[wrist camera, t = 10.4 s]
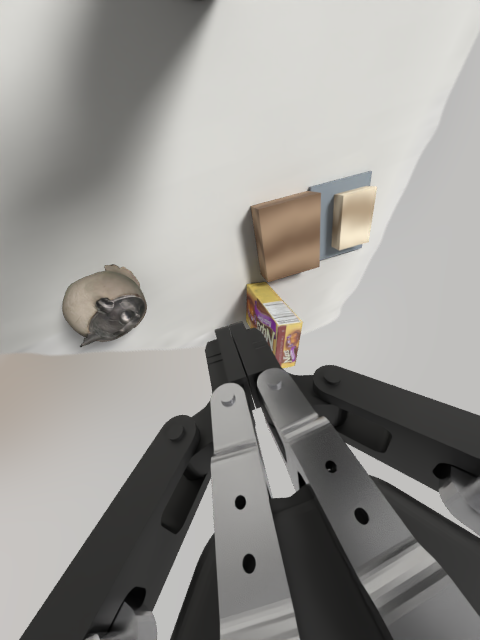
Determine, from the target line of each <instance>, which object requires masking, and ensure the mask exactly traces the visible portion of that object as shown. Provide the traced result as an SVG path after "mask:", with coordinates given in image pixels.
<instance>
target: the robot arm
mask: <svg viewBox="0 0 480 640" xmlns="http://www.w3.org/2000/svg"><path fill="white" fill-rule="evenodd" d="M229 328H230V330H229ZM230 331H231V333H230ZM215 333H216V337H217V339H216V340H213V341H210V342H208V343H207V346H206V349H205V353H206V358H207V364H208V369H209V375H210V381H211V386H212V396H211V399H210V401H209V403H208V404H207V406H206V407H205V408H204V409H202V410H201V411H200V412H198V413H197V414H195V415H194V416H193V417H189V416H187V415H179V416H176V417H174V418H172V419H170V420H169V421H168V422H166V424H165V425H164V426H163V427H162V429H161V430H160V432H159V433H158V435H157V436H156V437H155V439H154V441H153V442H152V443H151V445H150V446H149V448H148V449H147V451H146V453H145V454H144V455H143V457H142V459H141V460H140V461H139V463H138V464H137V466H136V467H135V469H134V470H133V472H132V473H131V475H130V476H129V478H128V479H127V481H126V482H125V483H124V485H123V487H122V488H121V489H120V491H119V492H118V494H117V495H116V497H115V498H114V500H113V501H112V503H111V504H110V506H109V507H108V509H107V510H106V512H105V513H104V515H103V516H102V518H101V519H100V521H99V522H98V524H97V525H96V527H95V528H94V530H93V531H92V532H91V534H90V536H89V537H88V538H87V540H86V541H85V543H84V544H83V546H82V547H81V549H80V550H79V552H78V553H77V555H76V556H75V558H74V559H73V561H72V562H71V564H70V565H69V567H68V568H67V570H66V571H65V573H64V574H63V576H62V577H61V579H60V580H59V581H58V583H57V585H56V586H55V587H54V589H53V591H52V592H51V593H50V595H49V596H48V598H47V599H46V601H45V602H44V604H43V605H42V607H41V609H40V610H39V611H38V613H37V614H36V616H35V617H34V619H33V620H32V622H31V623H30V624H29V626H28V628H27V629H26V630H25V632H24V634H23V635H22V636H21V638H20V639H19V640H157V627H156V621H155V618H154V615H153V614H152V611H153V608H154V606H155V604H156V602H157V599H158V597H159V595H160V593H161V590H162V588H163V586H164V583H165V581H166V579H167V577H168V574H169V572H170V570H171V567H172V565H173V563H174V561H175V558H176V556H177V553H178V552H179V549H180V547H181V545H182V542H183V540H184V538H185V536H186V533H187V531H188V529H189V526H190V524H191V522H192V520H193V517H194V515H195V512H196V510H197V508H198V506H199V504H200V501H201V499H202V497H203V495H204V492H205V490H206V488H207V485H208V483H209V481H210V479H211V481H212V498H213V515H214V531H215V533H214V534H213V535H212V537H211V538H210V540H209V541H208V543H207V545H206V546H205V548H204V550H203V552H202V554H201V556H200V558H199V561H198V563H197V566H196V568H195V572H194V574H193V577H192V580H191V582H190V585H189V588H188V591H187V594H186V597H185V600H184V602H183V605H182V608H181V611H180V613H179V616H178V619H177V622H176V625H175V627H174V630H173V633H172V636H171V639H170V640H480V538H478V537H477V536H475V535H473V534H472V533H470V532H469V531H467V530H465V529H464V528H462V527H460V526H459V525H457V524H455V523H454V522H452V521H450V520H449V519H447V518H445V517H444V516H442V515H441V514H439V513H437V512H436V511H434V510H432V509H431V508H429V507H427V506H426V505H424V504H422V503H421V502H419V501H417V500H416V499H414V498H412V497H411V496H409V495H408V494H406V493H404V492H403V491H401V490H399V489H398V488H396V487H394V486H393V485H391V484H389V483H387V482H385V481H383V480H381V479H379V478H376V477H373V476H371V475H368V474H367V472H366V471H365V469H364V468H363V467H362V465H361V464H360V463H359V461H358V460H357V459H356V457H355V456H354V454H353V453H352V452H351V450H350V449H349V448H348V446H347V445H346V443H347V444H349V445H351V446H353V447H355V448H357V449H358V450H360V451H362V452H364V453H366V454H368V455H370V456H372V457H374V458H375V459H377V460H379V461H381V462H383V463H385V464H387V465H389V466H390V467H392V468H394V469H396V470H398V471H400V472H402V473H404V474H406V475H407V476H409V477H411V478H413V479H415V480H417V481H419V482H421V483H422V484H425V485H426V486H428V487H430V488H432V489H434V490H436V491H437V492H439V494H440V496H441V499H442V501H443V503H444V504H445V506H446V507H447V509H448V510H449V511H450V513H451V514H452V515H453V516H454V517H455V518H457V519H458V520H459V521H460V522H461V523H463V524H464V525H466V526H467V527H469V528H470V529H472V530H473V531H474V532H475V533H477V534H478V535H479V536H480V416H479V415H476V414H473V413H470V412H468V411H465V410H462V409H459V408H456V407H453V406H450V405H447V404H445V403H442V402H439V401H436V400H433V399H430V398H427V397H425V396H422V395H419V394H416V393H413V392H410V391H407V390H404V389H401V388H398V387H396V386H393V385H390V384H387V383H384V382H381V381H378V380H376V379H373V378H370V377H367V376H364V375H361V374H358V373H356V372H353V371H350V370H347V369H344V368H341V367H338V366H334V365H326V366H322V367H320V368H319V369H317V370H316V371H315V373H314V375H303V376H298V375H293V374H290V373H288V372H286V371H285V370H283V369H282V367H281V366H280V364H279V362H278V361H277V359H276V357H275V355H274V353H273V352H272V350H271V348H270V346H269V345H268V343H267V341H266V340H265V337H264V336H263V334H262V332H261V331H259V330H258V329H256V328H255V327H254V328H251V329H248V330H246V328H245V326H244V324H243V322H242V321H241V322H238V323H235V324H231V325H229V327H228V326H225V327H222V328H219V329H216V330H215ZM231 335H232V336H231ZM232 338H233V339H232ZM251 395H252V396H251ZM252 397H253V400H254V403H255V406H256V408H260V407H261V408H262V411H263V413H264V416H265V420H266V423H267V426H268V428H269V430H270V432H271V435H272V437H273V439H274V441H275V443H276V445H277V448H278V450H279V452H280V454H281V456H282V458H283V460H284V463H285V465H286V467H287V470H288V473H289V475H290V478H291V480H292V483H293V486H294V488H295V490H296V493H295V494H293V495H292V496H291V497H288V498H272V494H271V490H270V486H269V482H268V478H267V474H266V471H265V466H264V462H263V458H262V454H261V450H260V445H259V441H258V437H257V433H256V429H255V420H254V417H253V413H252V410H254V409H255V407H254V403H253V400H252Z"/></svg>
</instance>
